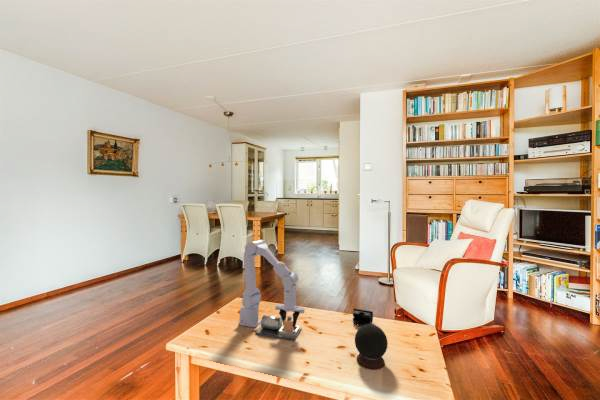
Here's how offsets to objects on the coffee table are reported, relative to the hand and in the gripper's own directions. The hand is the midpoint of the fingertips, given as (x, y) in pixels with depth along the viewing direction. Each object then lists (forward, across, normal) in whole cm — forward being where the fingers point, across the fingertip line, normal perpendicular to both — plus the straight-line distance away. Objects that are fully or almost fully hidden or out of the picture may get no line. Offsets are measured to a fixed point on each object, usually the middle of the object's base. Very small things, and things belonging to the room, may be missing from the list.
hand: (289, 325), depth 142 cm
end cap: (+4, +34, +24) cm, 41 cm away
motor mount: (+4, -6, 0) cm, 7 cm away
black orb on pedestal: (+4, +40, -12) cm, 41 cm away
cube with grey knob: (+2, 0, 0) cm, 2 cm away
